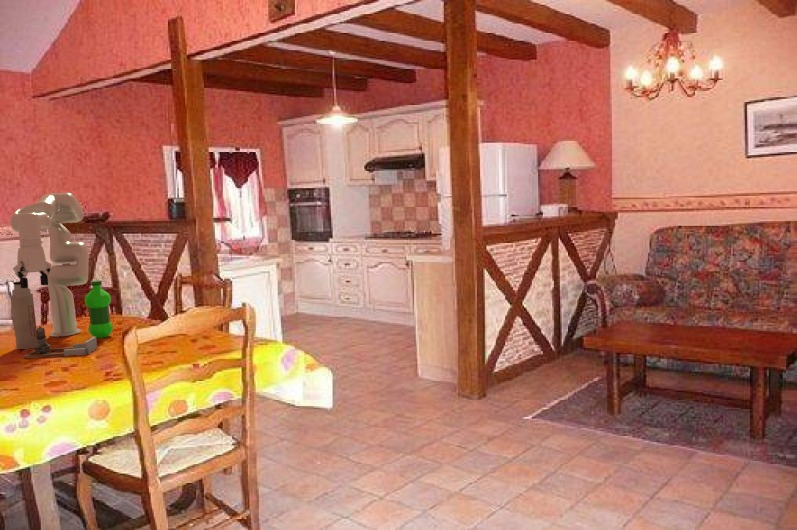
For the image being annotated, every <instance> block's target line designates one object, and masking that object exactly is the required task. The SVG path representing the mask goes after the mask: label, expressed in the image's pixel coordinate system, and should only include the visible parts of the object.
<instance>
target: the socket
mask: <svg viewBox="0 0 797 530" xmlns="http://www.w3.org/2000/svg"><path fill="white" fill-rule="evenodd" d="M72 347H73V349H65V350H64V351H63V353H64V356H63V357H70V356H69V355H77V356H88V355H87V354H89V355H90V354H92V353H93V352H94V351H96V350H97V349H98V343H97V338H96V337H94V336H92V337H91V338H89V339H87V340H85V342H84V343H74V344H72ZM95 349H96V350H95ZM92 351H93V352H92Z"/></svg>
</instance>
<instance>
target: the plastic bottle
mask: <svg viewBox="0 0 797 530" xmlns="http://www.w3.org/2000/svg"><path fill="white" fill-rule="evenodd" d="M101 285H103V283H102V280H100V279H97V280H91V281H90V286H91V287H92V289H91V290H90V291H89V292H88V293H87V294H86V295H85V297H84V304H85V306H86V307H87V308H88V315H89V322H90V324H89V326H88V332H89V334H90V336H92V337H96V339H104V338H103V337H105V338H108V337H109V336H110V335H111V334H112V332H113V330H114V325H113V323H112V322H111V317H110V310H109V309H110V308H109V307H110V304H111V303H112V296H111V294H110V293H108V292H107V291H106V290H104V289H102V286H101ZM107 336H108V337H107Z"/></svg>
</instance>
